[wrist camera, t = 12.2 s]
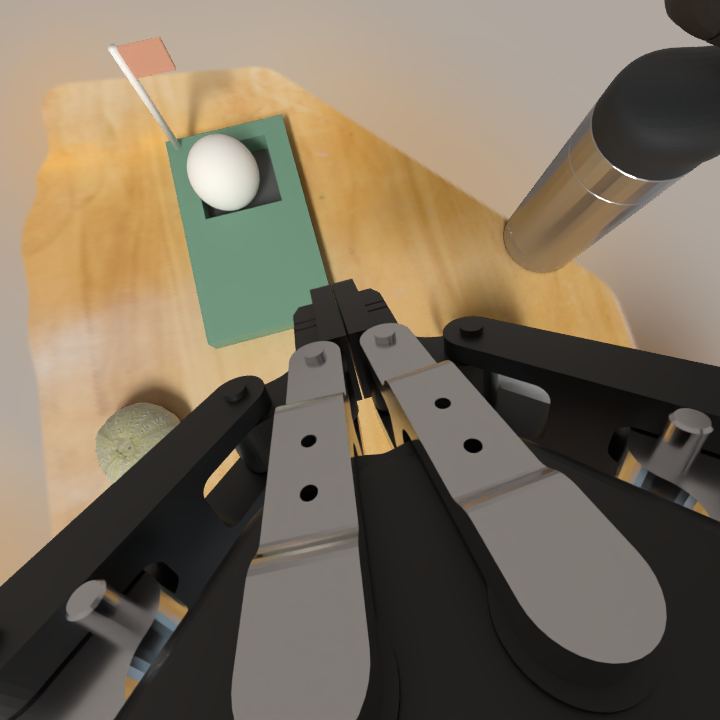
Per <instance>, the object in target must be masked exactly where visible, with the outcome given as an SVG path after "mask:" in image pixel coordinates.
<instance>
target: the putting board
mask: <svg viewBox="0 0 720 720" xmlns="http://www.w3.org/2000/svg"><path fill="white" fill-rule="evenodd" d="M108 50H109V52H110V53H111V54H112V56H113V57H114V59H115V60H116V62H117V63H118V65H119V66H120V68H121V69H122V71H123V72H124V74H125V75H126V77H127V78H128V80H129V81H130V83H131V84H132V86H133V87H134V88H135V90H136V91H137V93H138V94H139V96H140V97H141V99H142V100H143V102H144V103H145V105H146V106H147V108H148V109H149V111H150V112H151V114H152V115H153V117H154V118H155V120H156V121H157V122H158V124H159V125H160V127H161V128H162V130H163V131H164V133H165V134H166V136H167V137H168V139H169V140H170V141H168V142H166V146H167V151H168V156H169V161H170V165H171V170H172V175H173V180H174V184H175V189H176V194H177V199H178V203H179V208H180V213H181V218H182V222H183V227H184V232H185V237H186V241H187V246H188V251H189V256H190V260H191V265H192V270H193V275H194V279H195V284H196V289H197V294H198V298H199V303H200V308H201V313H202V317H203V322H204V327H205V332H206V336H207V341H208V344H209V345H211V346H213V347H215V348H217V349H218V348H221V347H225V346H229V345H233V344H236V343H240V342H244V341H248V340H251V339H255V338H259V337H263V336H266V335H270V334H274V333H278V332H281V331H285V330H289V329H293V328H294V322H293V315H294V314H295V312H296V310H297V309H298V307H302V306H305V305H309V304H312V300H311V294H310V290H311V289H315V288H319V287H322V286H326V285H329V284H328V280H327V277H326V273H325V270H324V266H323V262H322V259H321V255H320V251H319V248H318V244H317V241H316V237H315V233H314V230H313V226H312V223H311V219H310V215H309V212H308V208H307V204H306V201H305V197H304V194H303V190H302V186H301V183H300V179H299V176H298V172H297V168H296V165H295V161H294V157H293V154H292V150H291V147H290V143H289V139H288V136H287V132H286V129H285V125H284V121H283V118H282V115H278V116H274V117H270V118H266V119H261V120H257V121H253V122H249V123H244V124H240V125H236V126H232V127H228V128H223V129H219V130H215V131H211V132H206V133H202V134H198V135H194V136H189V137H185V138H181V139H176V137H175V136H174V134H173V133H172V131H171V130H170V128H169V127H168V125H167V123H166V122H165V120H164V119H163V117H162V116H161V114H160V113H159V111H158V110H157V108H156V107H155V105H154V103H153V102H152V100H151V99H150V97H149V96H148V94H147V93H146V91H145V90H144V88H143V86H142V85H141V83H140V82H139V80H138V79H137V78H141V77H146V76H150V75H155V74H159V73H164V72H168V71H172V70H176V68H175V65H174V63H173V61H172V59H171V57H170V55H169V54H168V52H167V50H166V48H165V46H164V44H163V42H162V40H161V38H160V37H157V38H152V39H147V40H143V41H138V42H134V43H129V44H125V45H120V46H116V45H114V44H111V45H109V46H108ZM211 134H223V135H227V136H230V137H233V138H235V139H236V140H238V141H240V142H241V143H242V144H243V145H245V146H246V148H247V149H248V150H249V151H250V152H251V154H252V155H253V157H254V159H255V161H256V163H257V166H258V170H259V176H260V182H259V188H258V191H257V194H256V196H255V197H254V199H253V200H252V201H251V202H250V203H249V204H248V205H247V206H245V207H243V208H241V209H238V210H234V211H225V210H220V209H217V208H214V207H212V206H210V205H209V204H207V203H206V202H204V201H203V200H202V199H201V198H200V197H199V196H198V195H197V193H196V192H195V191H194V189H193V187H192V185H191V183H190V181H189V178H188V173H187V159H188V155H189V152H190V150H191V148H192V147H193V145H194V144H195V143H196V142H197V141H198V140H199V139H201V138H203V137H205V136H207V135H211Z"/></svg>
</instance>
